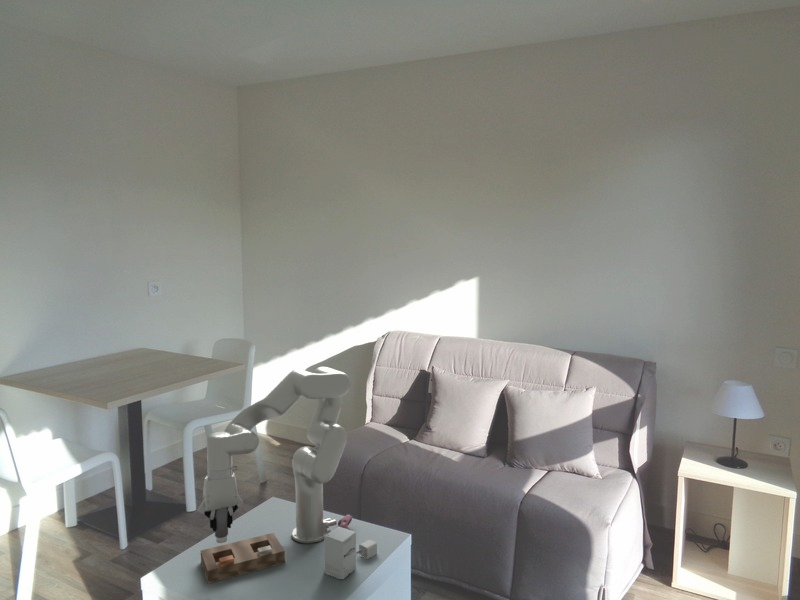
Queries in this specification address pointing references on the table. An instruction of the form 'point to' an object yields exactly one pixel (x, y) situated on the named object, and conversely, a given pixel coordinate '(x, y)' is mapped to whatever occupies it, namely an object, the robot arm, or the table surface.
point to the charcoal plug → (221, 524)
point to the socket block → (242, 557)
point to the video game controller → (345, 521)
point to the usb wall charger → (367, 549)
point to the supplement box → (340, 552)
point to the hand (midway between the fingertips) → (221, 527)
